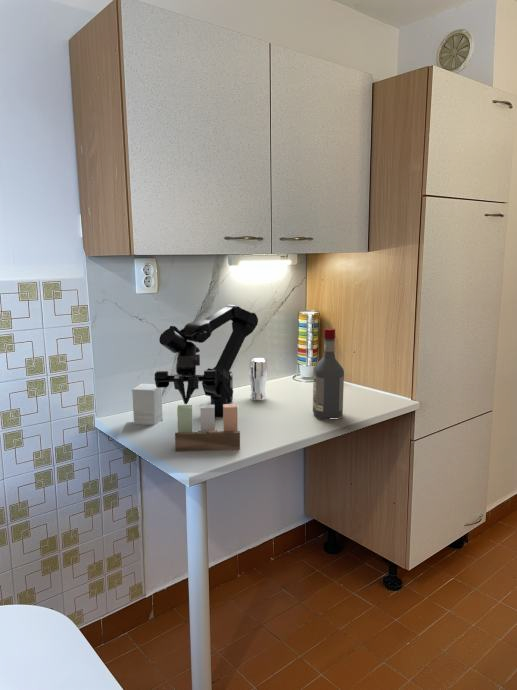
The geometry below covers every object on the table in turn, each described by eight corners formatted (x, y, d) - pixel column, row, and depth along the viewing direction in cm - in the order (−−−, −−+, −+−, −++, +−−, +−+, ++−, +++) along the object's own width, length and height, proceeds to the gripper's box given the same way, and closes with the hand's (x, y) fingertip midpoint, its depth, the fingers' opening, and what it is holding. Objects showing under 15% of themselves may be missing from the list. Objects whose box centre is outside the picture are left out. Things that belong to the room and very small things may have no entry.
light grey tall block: (201, 440, 158) (200, 404, 155) (214, 440, 158) (214, 404, 156) (201, 444, 155) (200, 407, 153) (215, 444, 155) (214, 407, 153)
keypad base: (177, 443, 158) (176, 423, 157) (238, 442, 160) (238, 421, 158) (175, 455, 150) (174, 433, 149) (240, 453, 151) (240, 431, 150)
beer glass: (261, 395, 209) (261, 357, 206) (270, 399, 203) (271, 360, 200) (245, 397, 205) (245, 359, 202) (254, 402, 199) (254, 362, 196)
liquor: (336, 411, 189) (339, 326, 184) (344, 419, 180) (347, 331, 175) (311, 411, 188) (313, 327, 182) (317, 420, 179) (319, 331, 174)
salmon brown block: (223, 440, 158) (223, 404, 156) (237, 439, 158) (236, 404, 156) (223, 444, 155) (223, 407, 153) (237, 443, 155) (237, 407, 153)
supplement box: (163, 421, 178) (162, 384, 176) (154, 428, 171) (153, 390, 169) (142, 419, 180) (141, 382, 177) (133, 426, 173) (131, 388, 170)
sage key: (178, 441, 157) (177, 405, 155) (192, 441, 157) (191, 405, 155) (178, 445, 154) (177, 408, 152) (192, 444, 154) (191, 408, 152)
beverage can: (211, 401, 200) (211, 370, 198) (224, 398, 205) (224, 367, 202) (223, 405, 195) (222, 373, 193) (236, 401, 200) (236, 370, 198)
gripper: (154, 345, 161) (151, 390, 153) (216, 344, 163) (217, 389, 154) (157, 365, 170) (155, 409, 162) (216, 364, 172) (217, 407, 163)
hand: (185, 403), depth 160 cm, fingers closed
